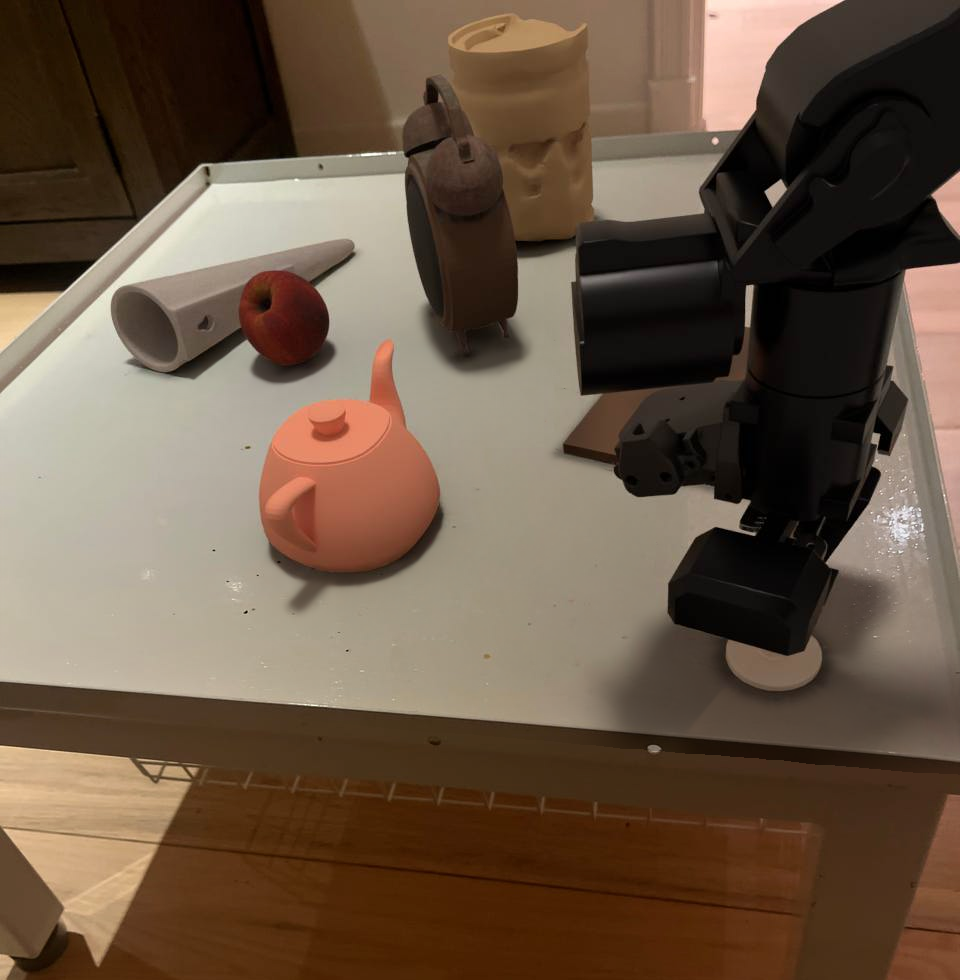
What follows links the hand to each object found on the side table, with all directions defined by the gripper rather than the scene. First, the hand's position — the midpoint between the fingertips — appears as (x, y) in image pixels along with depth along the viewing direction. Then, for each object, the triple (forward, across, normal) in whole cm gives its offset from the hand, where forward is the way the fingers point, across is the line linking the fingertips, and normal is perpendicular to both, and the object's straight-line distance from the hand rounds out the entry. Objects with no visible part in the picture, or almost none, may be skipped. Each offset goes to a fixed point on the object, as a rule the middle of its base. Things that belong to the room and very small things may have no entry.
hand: (778, 620), depth 52 cm
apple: (+3, -19, -49) cm, 53 cm away
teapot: (+3, -2, -30) cm, 30 cm away
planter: (+3, -26, -60) cm, 66 cm away
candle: (+3, 0, 0) cm, 3 cm away
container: (+3, -48, -40) cm, 63 cm away
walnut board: (+3, -24, -13) cm, 27 cm away
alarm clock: (+3, -28, -36) cm, 46 cm away
